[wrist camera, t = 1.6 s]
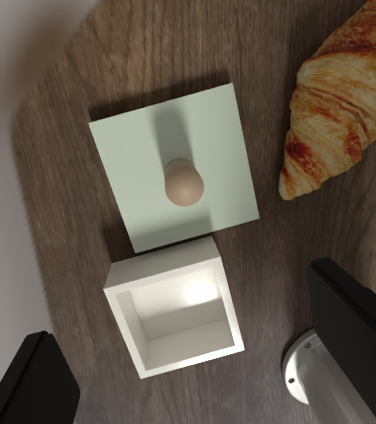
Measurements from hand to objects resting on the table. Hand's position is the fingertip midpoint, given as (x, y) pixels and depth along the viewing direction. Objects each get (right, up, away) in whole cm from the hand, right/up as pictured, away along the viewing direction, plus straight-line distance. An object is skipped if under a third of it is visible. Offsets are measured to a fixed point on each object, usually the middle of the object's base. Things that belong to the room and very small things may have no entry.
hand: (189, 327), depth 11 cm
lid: (-1, +8, +18) cm, 20 cm away
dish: (-1, -5, +23) cm, 23 cm away
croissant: (+14, +15, +18) cm, 27 cm away
